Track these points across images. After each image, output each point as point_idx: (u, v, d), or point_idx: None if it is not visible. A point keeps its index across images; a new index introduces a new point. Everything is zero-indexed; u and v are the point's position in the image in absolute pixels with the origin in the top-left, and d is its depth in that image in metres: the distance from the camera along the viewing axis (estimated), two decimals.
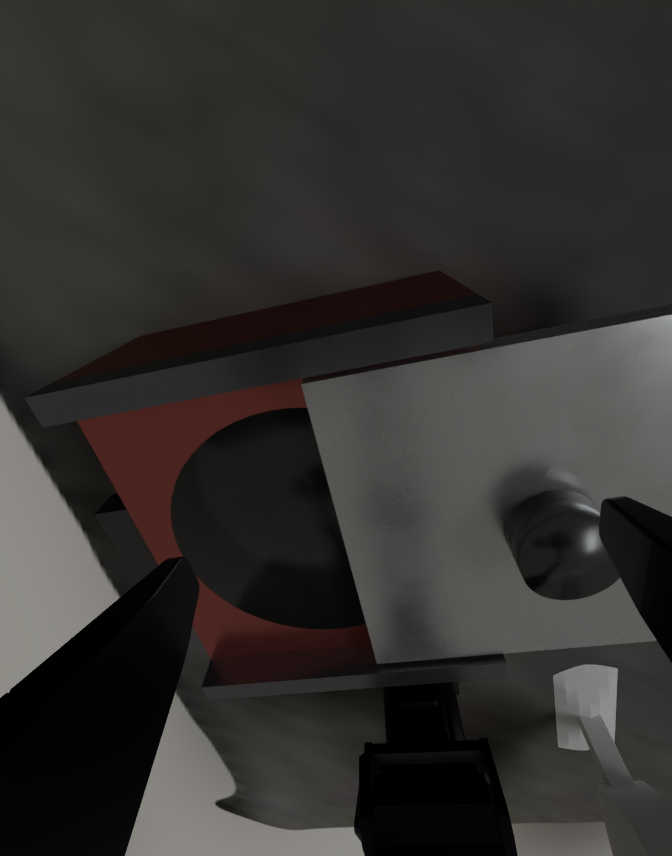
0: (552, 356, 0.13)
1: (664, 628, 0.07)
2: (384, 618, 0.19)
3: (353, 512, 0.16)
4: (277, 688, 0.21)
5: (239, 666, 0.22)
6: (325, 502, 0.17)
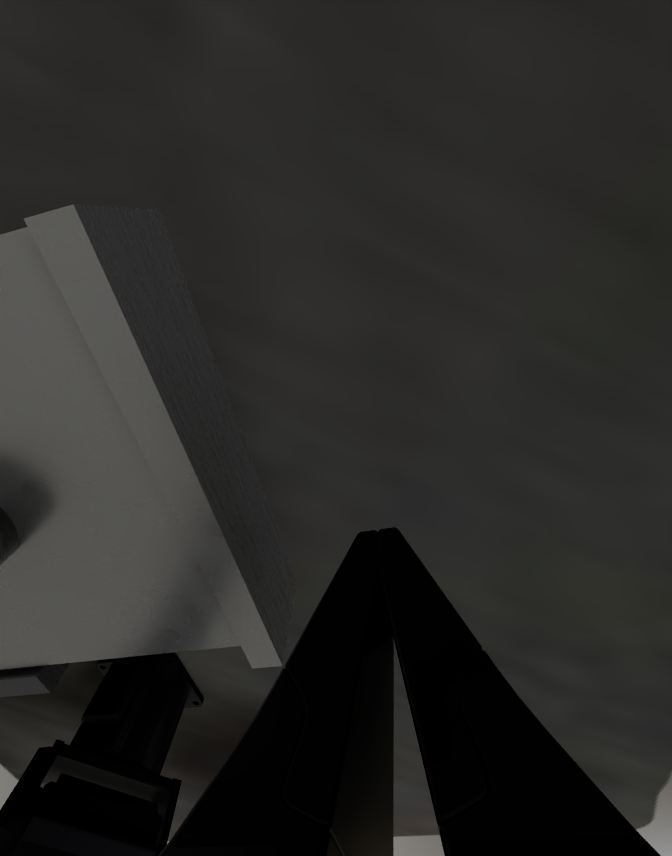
0: None
1: None
2: None
3: None
4: None
5: None
6: None
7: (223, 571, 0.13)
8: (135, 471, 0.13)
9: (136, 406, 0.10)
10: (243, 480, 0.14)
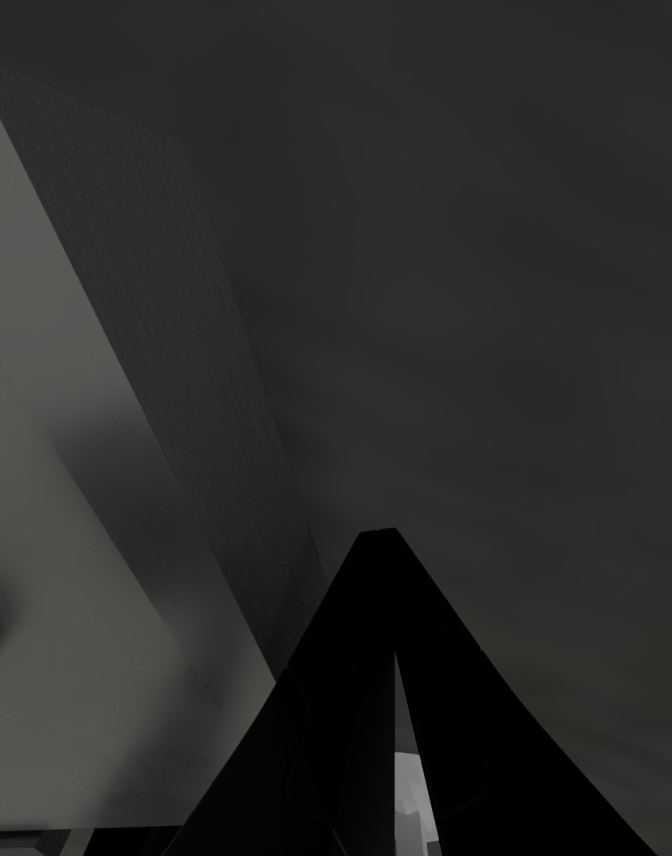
0: None
1: None
2: None
3: None
4: None
5: None
6: None
7: None
8: (141, 610, 0.07)
9: (145, 536, 0.05)
10: (311, 594, 0.09)
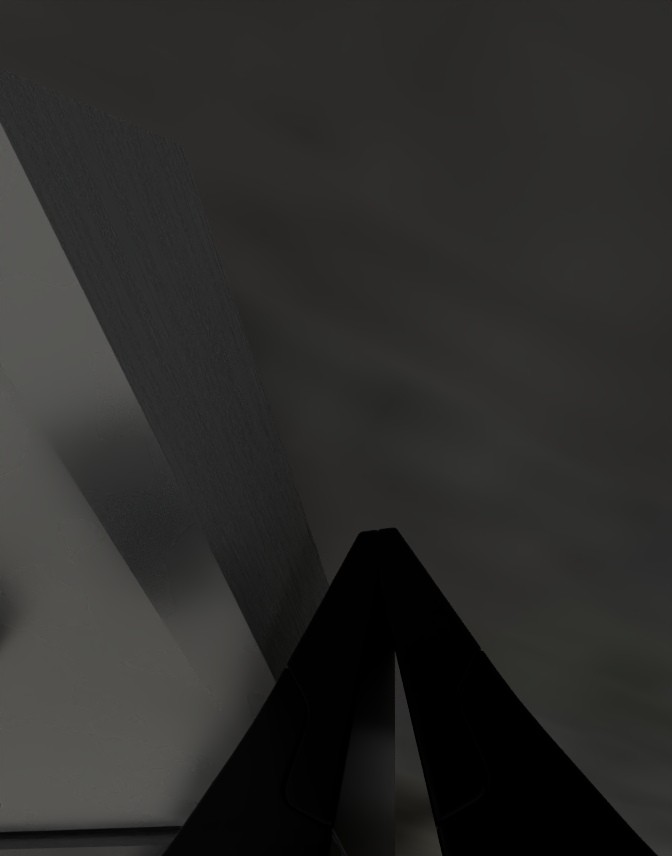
0: None
1: None
2: None
3: None
4: None
5: None
6: None
7: None
8: (141, 610, 0.07)
9: (146, 536, 0.05)
10: (311, 595, 0.09)
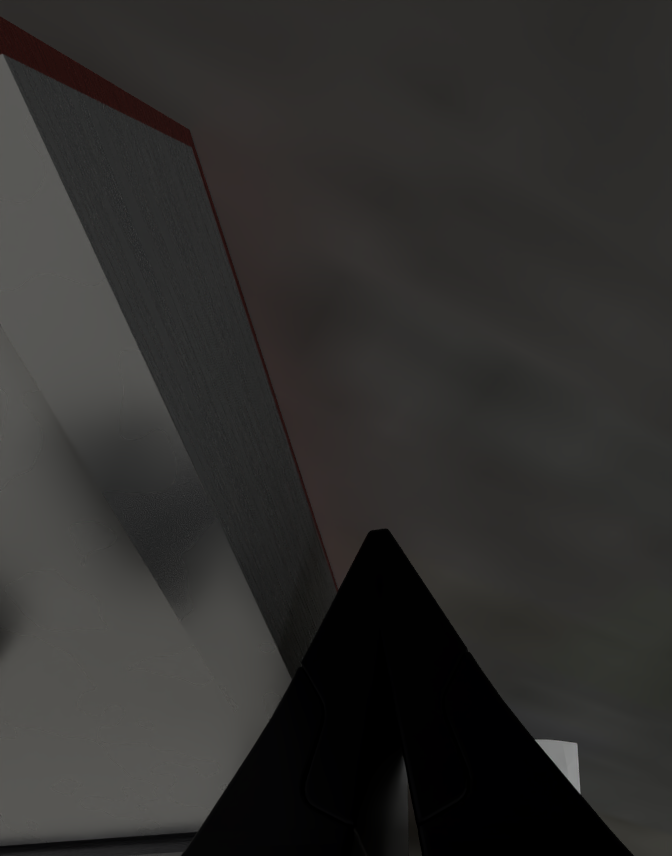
0: None
1: None
2: None
3: None
4: None
5: None
6: None
7: None
8: (153, 613, 0.07)
9: (166, 536, 0.05)
10: (319, 594, 0.09)
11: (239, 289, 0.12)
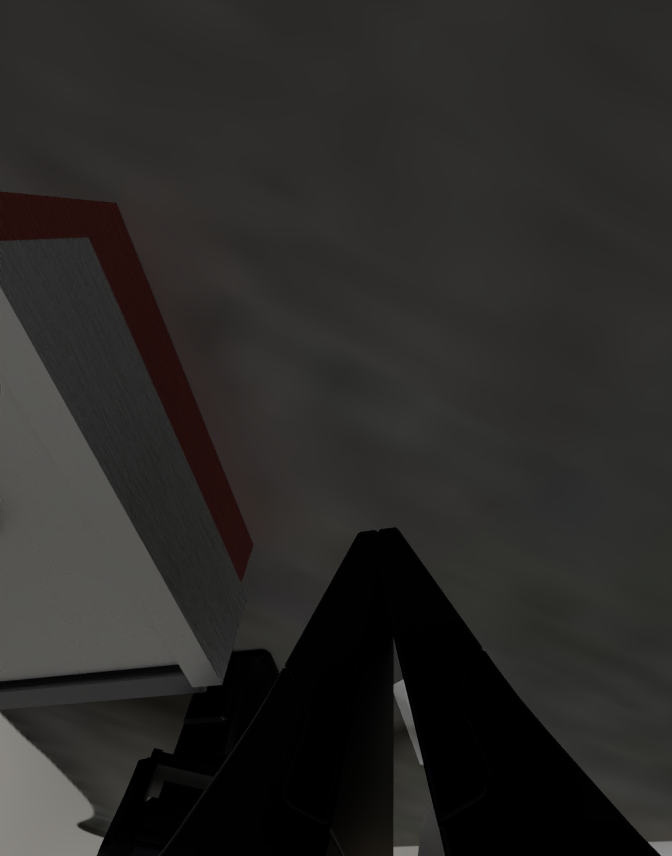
0: None
1: None
2: None
3: None
4: None
5: None
6: None
7: (155, 592, 0.13)
8: (66, 494, 0.13)
9: (54, 434, 0.11)
10: (181, 500, 0.15)
11: (155, 306, 0.18)
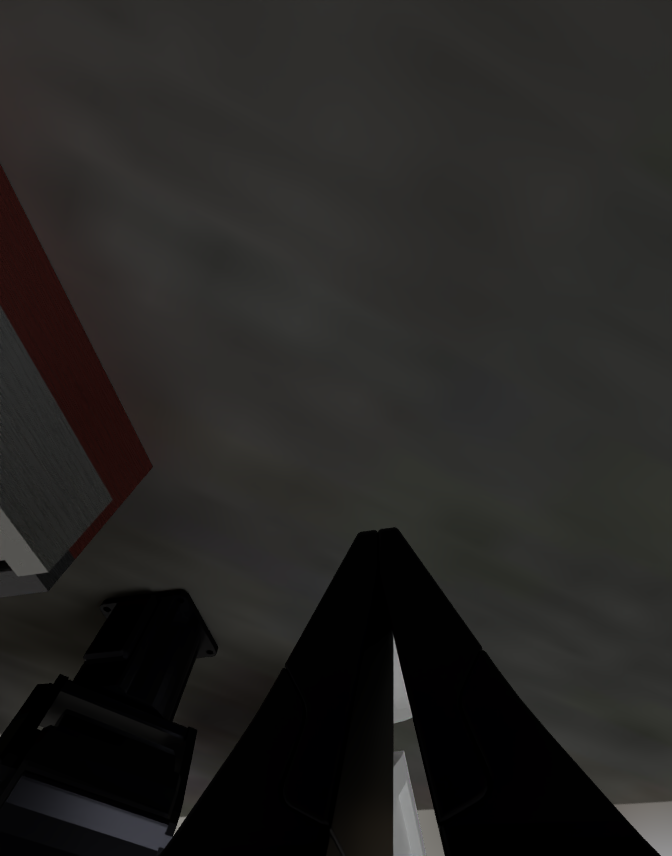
0: None
1: None
2: None
3: None
4: None
5: None
6: None
7: None
8: None
9: None
10: None
11: (1, 173, 0.16)
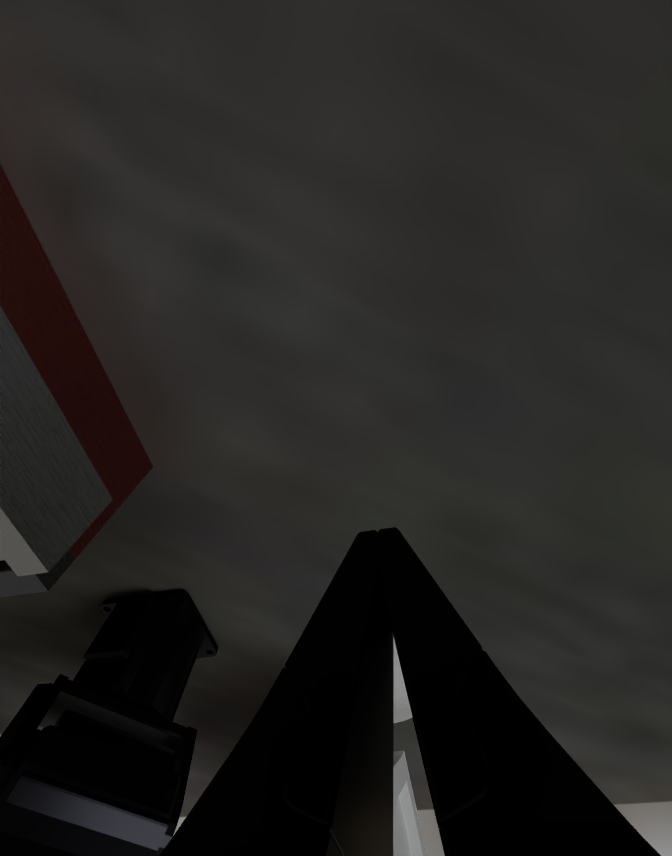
0: None
1: None
2: None
3: None
4: None
5: None
6: None
7: None
8: None
9: None
10: None
11: (1, 173, 0.16)
